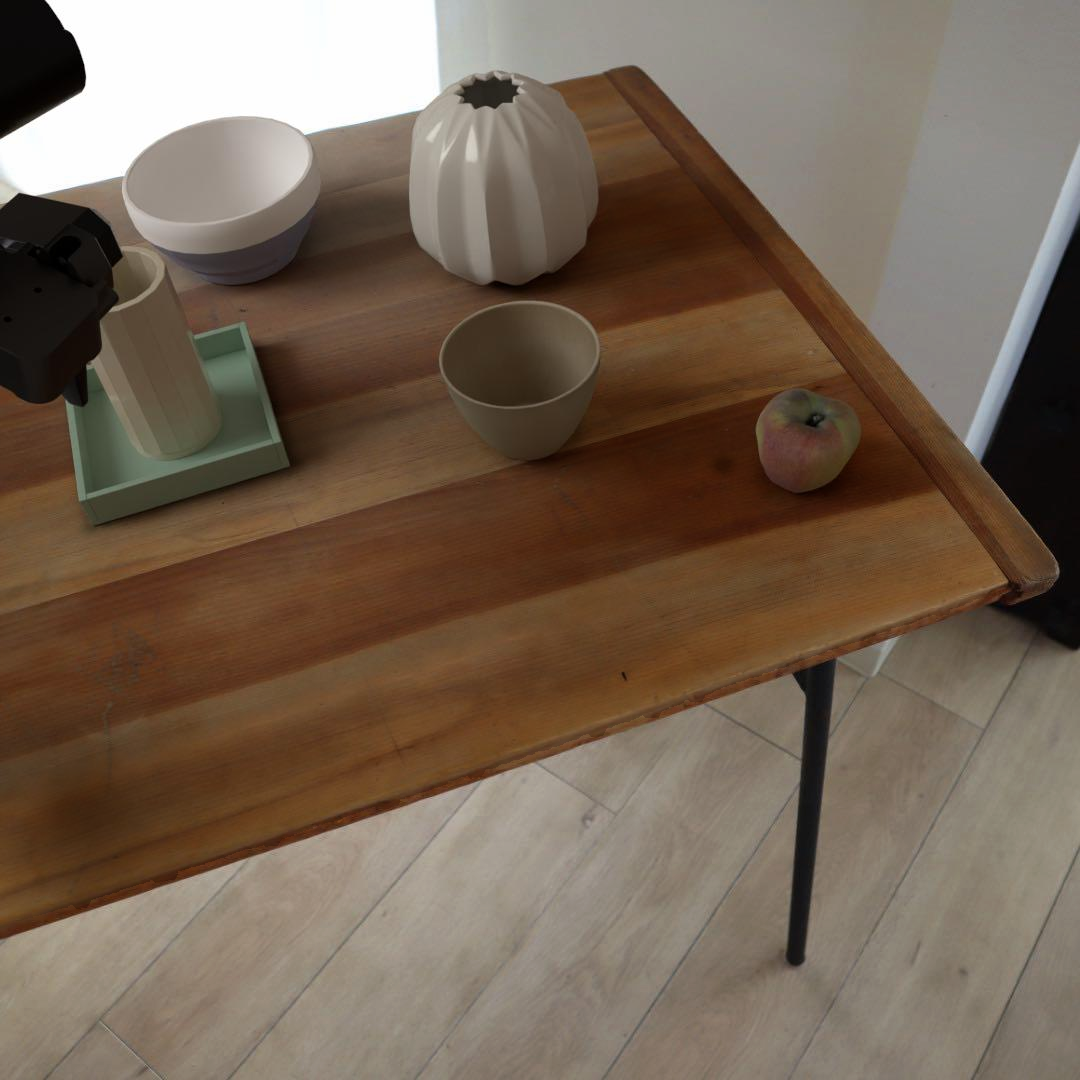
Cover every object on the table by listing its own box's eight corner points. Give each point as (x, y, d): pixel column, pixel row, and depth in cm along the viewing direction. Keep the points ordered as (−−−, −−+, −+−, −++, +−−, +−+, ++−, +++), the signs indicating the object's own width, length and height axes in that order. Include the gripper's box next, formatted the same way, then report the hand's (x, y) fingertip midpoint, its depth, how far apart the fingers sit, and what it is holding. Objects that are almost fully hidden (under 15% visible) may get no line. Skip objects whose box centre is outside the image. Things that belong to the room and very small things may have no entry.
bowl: (145, 324, 88) (109, 239, 82) (161, 211, 97) (129, 128, 92) (338, 297, 88) (316, 211, 83) (335, 187, 98) (315, 103, 92)
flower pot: (609, 382, 80) (605, 299, 75) (599, 491, 74) (595, 409, 69) (465, 380, 82) (451, 298, 76) (443, 487, 75) (426, 406, 70)
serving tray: (92, 526, 75) (78, 501, 74) (74, 397, 83) (61, 372, 82) (290, 466, 77) (281, 441, 76) (253, 346, 86) (244, 320, 84)
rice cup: (174, 473, 77) (106, 326, 68) (110, 438, 80) (35, 291, 70) (242, 414, 80) (186, 265, 71) (178, 382, 83) (115, 234, 73)
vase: (433, 199, 95) (407, 41, 85) (604, 198, 94) (599, 36, 84) (405, 310, 87) (371, 148, 77) (593, 311, 85) (584, 146, 75)
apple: (716, 449, 76) (720, 381, 71) (838, 428, 76) (849, 360, 71) (742, 519, 72) (748, 452, 67) (869, 496, 72) (884, 428, 68)
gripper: (-151, 398, 41) (32, 649, 53) (156, 116, 52) (251, 379, 64) (-368, 332, 45) (-150, 582, 57) (-39, 80, 55) (86, 336, 67)
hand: (24, 463), depth 61 cm, fingers open, 9 cm apart
